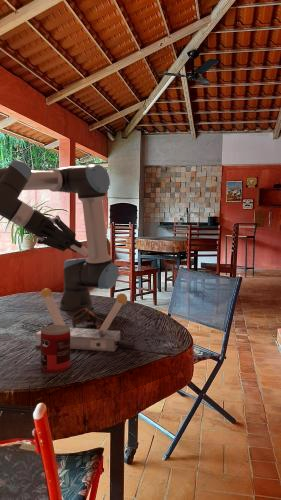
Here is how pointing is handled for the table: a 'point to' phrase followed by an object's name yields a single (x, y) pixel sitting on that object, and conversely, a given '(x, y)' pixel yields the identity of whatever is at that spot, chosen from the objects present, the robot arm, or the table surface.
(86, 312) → the pottery mug
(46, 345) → the canned food
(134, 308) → the table surface
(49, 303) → the toggle
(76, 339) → the switch box
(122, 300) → the toggle
